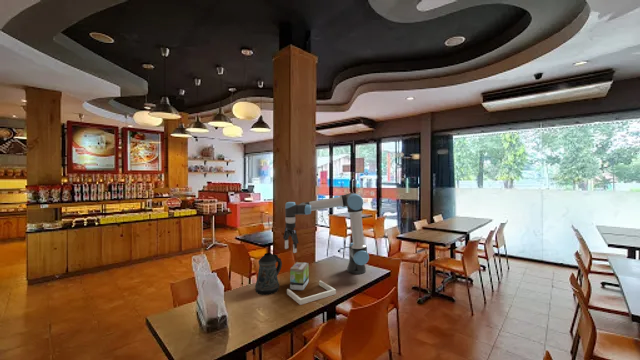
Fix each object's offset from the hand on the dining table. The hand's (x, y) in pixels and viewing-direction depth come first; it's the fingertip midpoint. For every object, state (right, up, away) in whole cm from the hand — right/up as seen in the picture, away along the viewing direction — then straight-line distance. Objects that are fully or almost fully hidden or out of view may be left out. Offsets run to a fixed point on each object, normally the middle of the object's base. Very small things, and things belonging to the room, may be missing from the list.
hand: (290, 250), depth 204 cm
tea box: (+8, -23, -11) cm, 26 cm away
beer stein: (-14, -23, -17) cm, 31 cm away
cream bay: (+16, -23, -25) cm, 37 cm away
